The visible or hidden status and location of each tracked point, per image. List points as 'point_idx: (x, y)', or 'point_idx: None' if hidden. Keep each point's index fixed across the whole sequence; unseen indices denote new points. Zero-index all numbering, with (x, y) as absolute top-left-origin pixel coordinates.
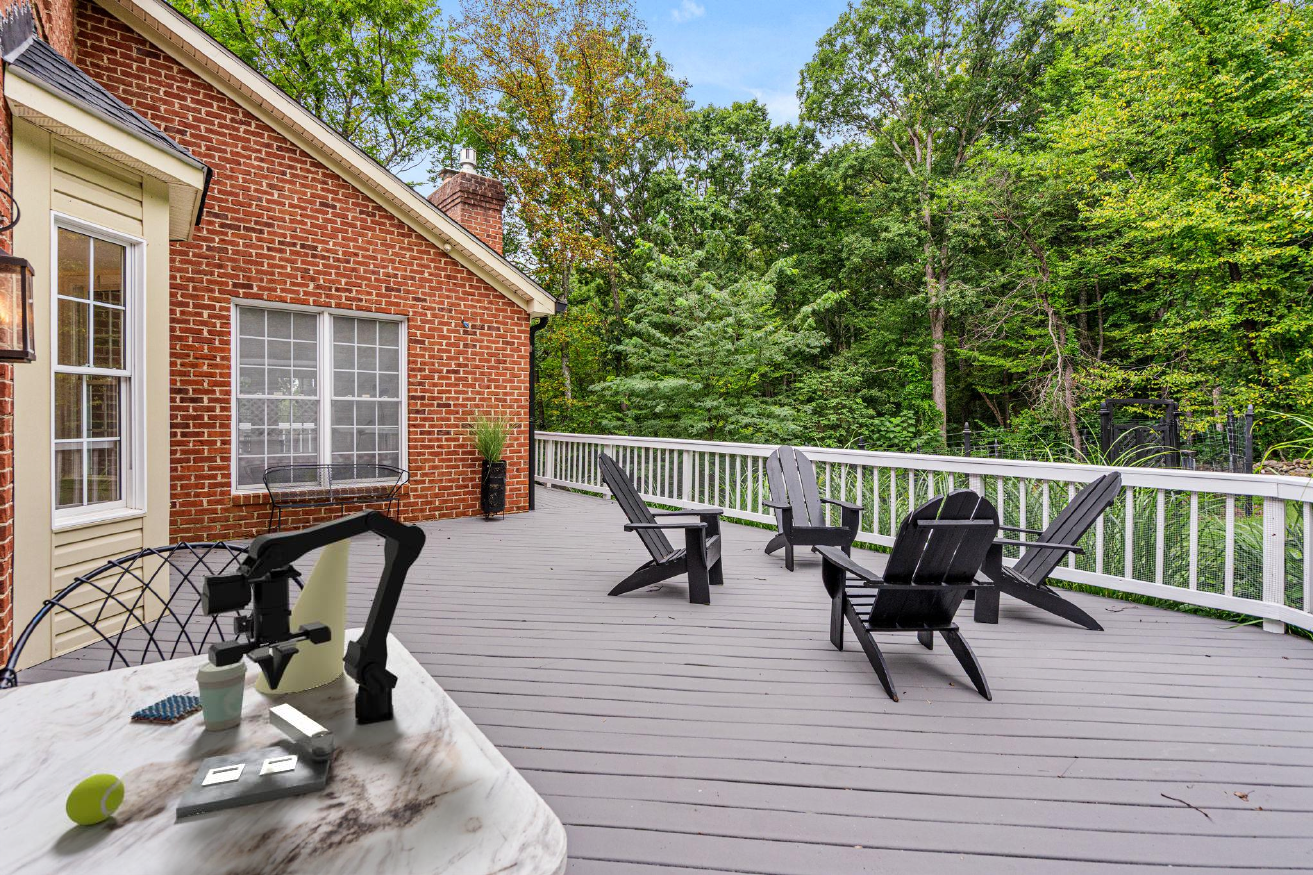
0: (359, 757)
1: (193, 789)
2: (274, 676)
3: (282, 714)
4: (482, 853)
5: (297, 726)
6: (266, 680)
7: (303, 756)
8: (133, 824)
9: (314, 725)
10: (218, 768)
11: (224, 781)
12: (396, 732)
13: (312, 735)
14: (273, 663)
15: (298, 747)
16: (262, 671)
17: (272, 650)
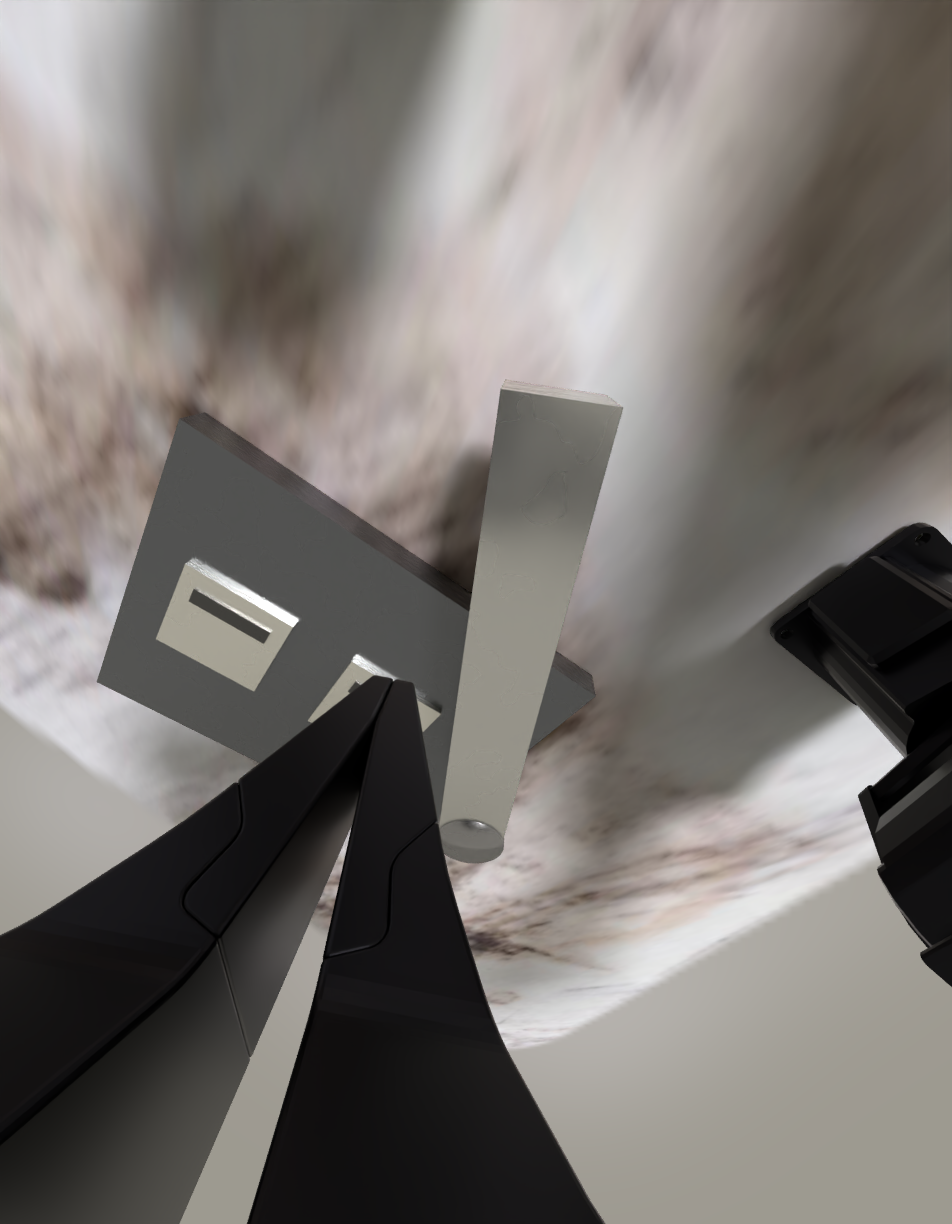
0: (569, 784)
1: (137, 628)
2: (330, 870)
3: (495, 563)
4: None
5: (459, 732)
6: (316, 725)
7: (451, 722)
8: (16, 600)
9: (504, 775)
10: (212, 579)
11: (219, 670)
12: (750, 767)
13: (447, 825)
14: (219, 1120)
15: None
16: (225, 792)
17: (257, 1196)
